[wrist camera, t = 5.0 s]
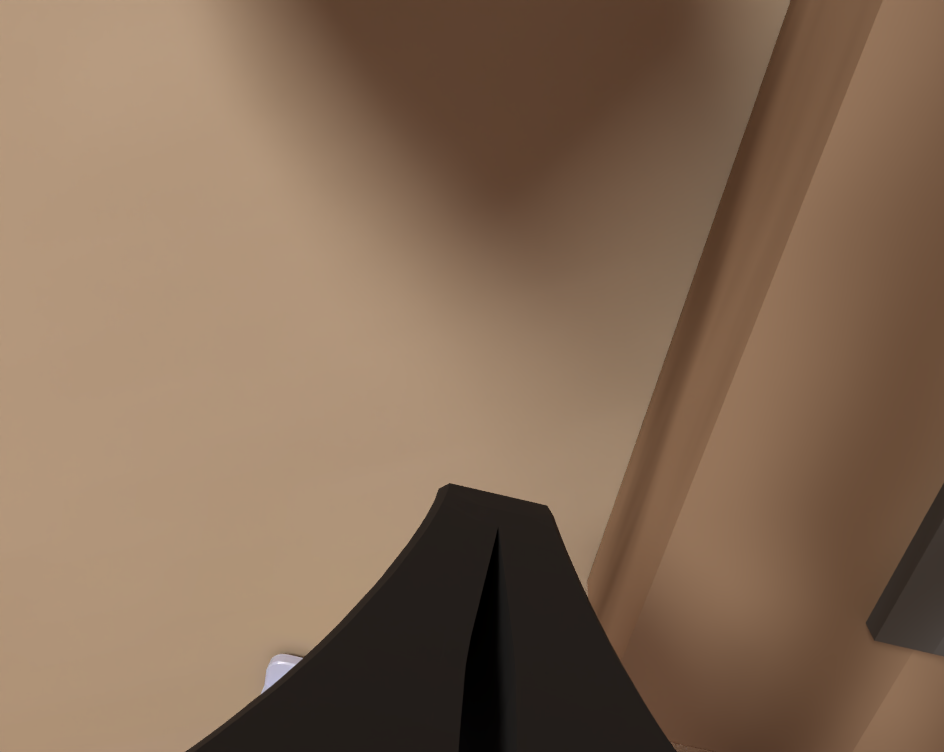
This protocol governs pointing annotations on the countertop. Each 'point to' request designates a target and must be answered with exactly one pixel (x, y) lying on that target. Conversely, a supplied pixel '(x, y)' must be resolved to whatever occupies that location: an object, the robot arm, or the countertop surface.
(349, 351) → the countertop surface
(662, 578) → the walnut block
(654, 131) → the countertop surface
